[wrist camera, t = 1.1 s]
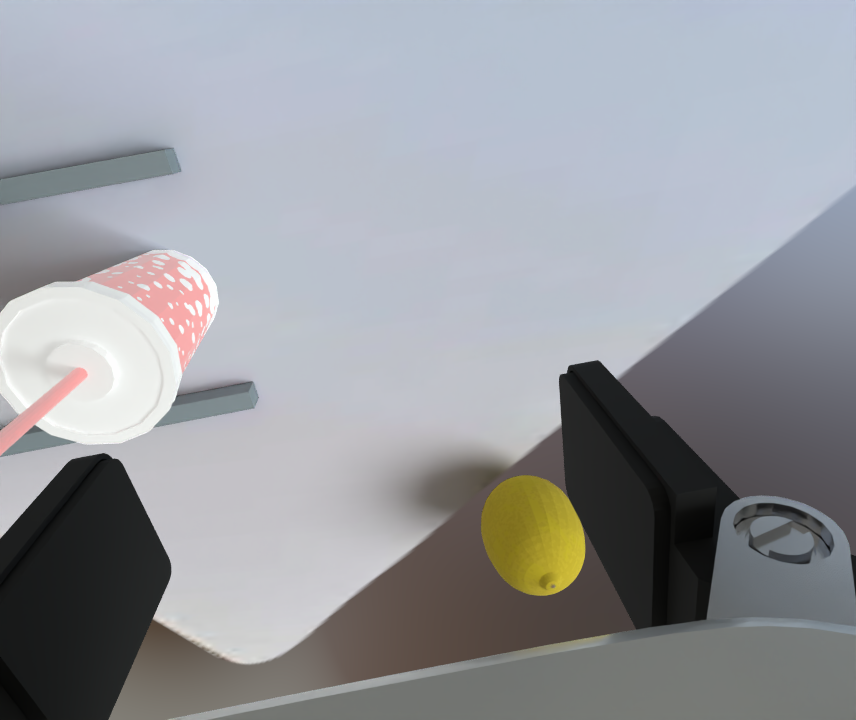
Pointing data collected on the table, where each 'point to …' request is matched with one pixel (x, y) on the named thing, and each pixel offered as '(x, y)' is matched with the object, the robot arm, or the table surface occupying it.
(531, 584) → the lemon
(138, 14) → the table surface
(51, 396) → the beverage cup
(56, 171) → the slate channel
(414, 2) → the table surface
